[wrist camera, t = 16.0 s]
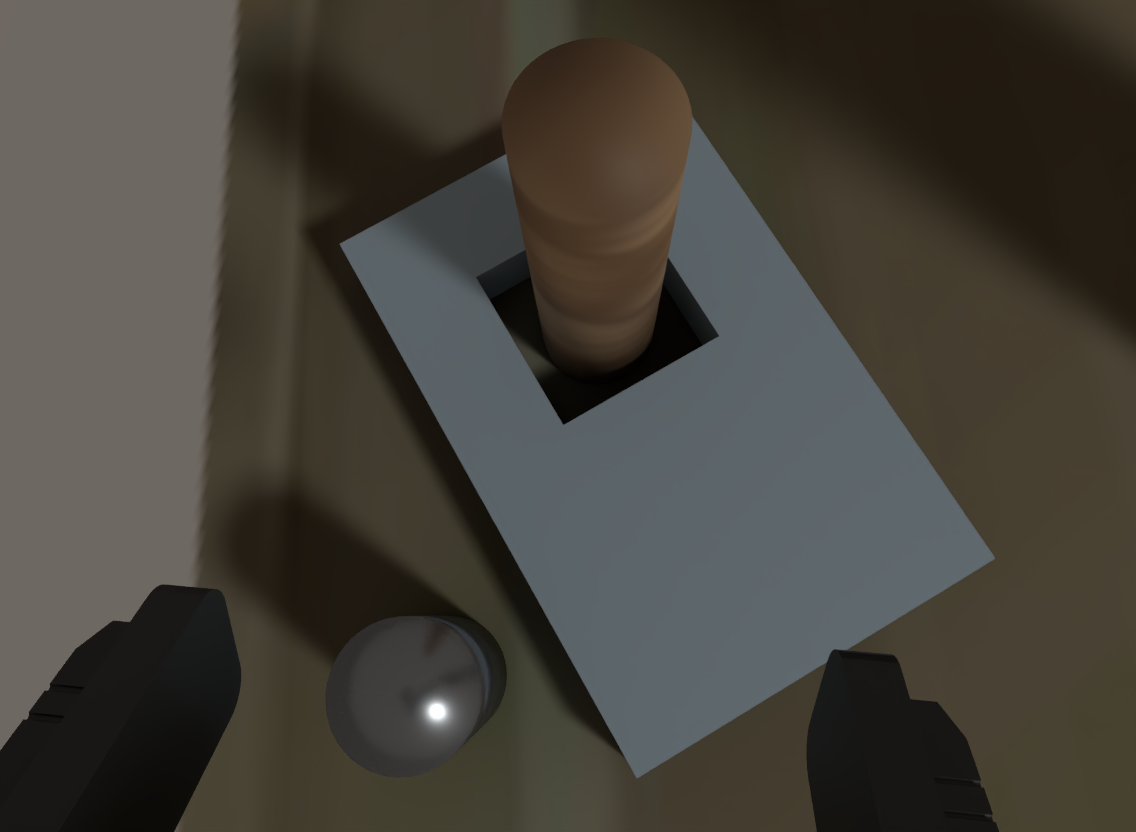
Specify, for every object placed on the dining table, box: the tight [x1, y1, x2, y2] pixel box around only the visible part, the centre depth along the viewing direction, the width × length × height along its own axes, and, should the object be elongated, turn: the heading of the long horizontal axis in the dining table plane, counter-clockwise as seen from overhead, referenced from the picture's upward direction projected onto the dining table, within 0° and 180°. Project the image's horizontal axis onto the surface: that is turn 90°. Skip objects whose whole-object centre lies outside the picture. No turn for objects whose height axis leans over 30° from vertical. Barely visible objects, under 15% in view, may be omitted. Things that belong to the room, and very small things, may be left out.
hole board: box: [340, 117, 995, 778], centre depth 30 cm, size 13×20×2 cm, turn 30°
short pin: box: [326, 615, 507, 777], centre depth 26 cm, size 4×4×7 cm
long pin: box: [502, 38, 692, 384], centre depth 25 cm, size 4×4×14 cm
